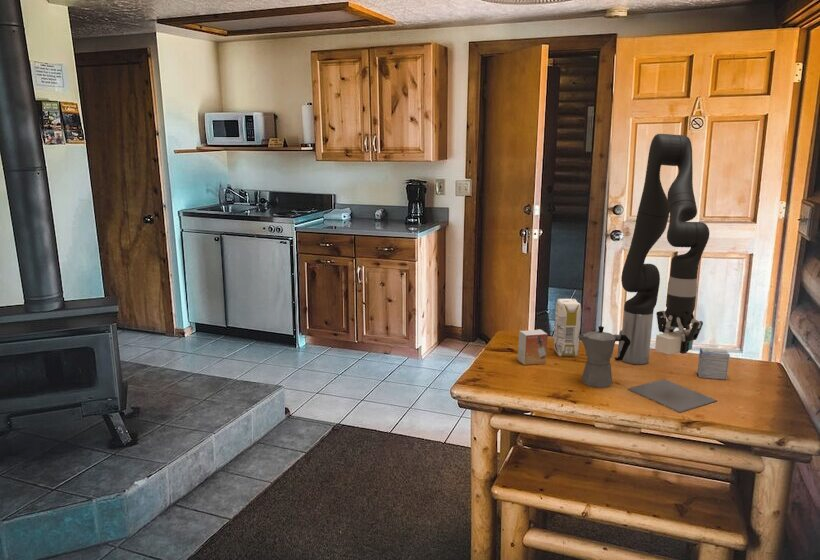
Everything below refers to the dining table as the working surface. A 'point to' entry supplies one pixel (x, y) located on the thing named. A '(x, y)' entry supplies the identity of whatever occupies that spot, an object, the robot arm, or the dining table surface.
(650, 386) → the board
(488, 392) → the dining table surface
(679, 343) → the block
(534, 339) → the small box
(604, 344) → the coffeepot
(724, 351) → the medicine box
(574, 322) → the juice carton
